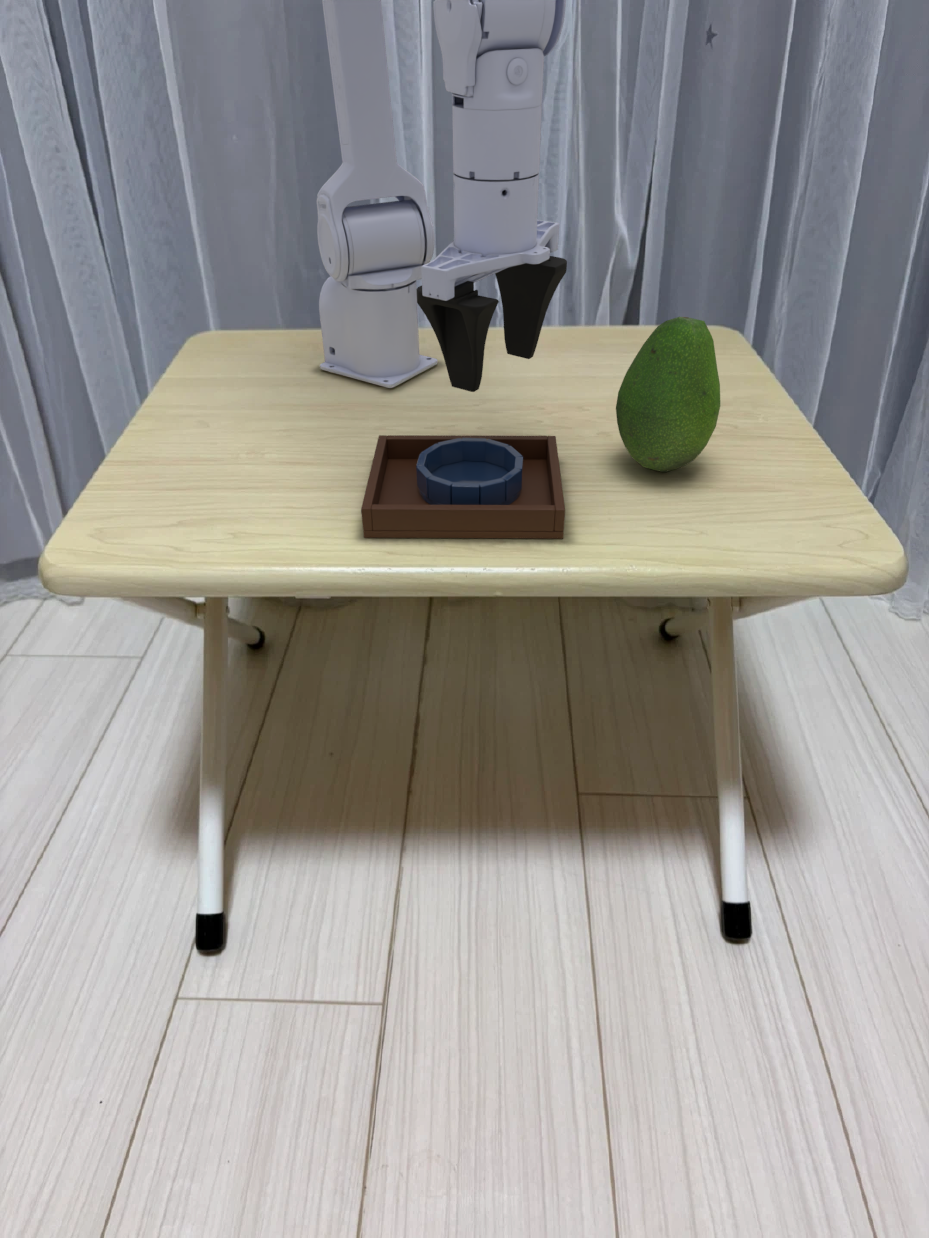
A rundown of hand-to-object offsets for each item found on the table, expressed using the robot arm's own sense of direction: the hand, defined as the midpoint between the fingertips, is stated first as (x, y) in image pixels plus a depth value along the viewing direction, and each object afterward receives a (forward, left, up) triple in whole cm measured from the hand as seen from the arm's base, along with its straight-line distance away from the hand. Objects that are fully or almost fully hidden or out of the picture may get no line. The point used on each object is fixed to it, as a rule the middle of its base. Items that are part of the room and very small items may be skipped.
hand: (493, 371), depth 65 cm
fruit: (+11, +8, -9) cm, 16 cm away
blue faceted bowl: (+1, -4, -8) cm, 9 cm away
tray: (+1, -5, -8) cm, 10 cm away
